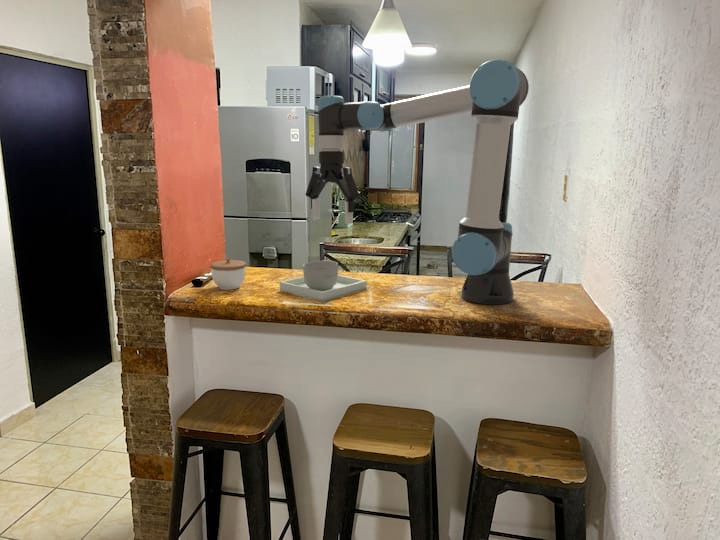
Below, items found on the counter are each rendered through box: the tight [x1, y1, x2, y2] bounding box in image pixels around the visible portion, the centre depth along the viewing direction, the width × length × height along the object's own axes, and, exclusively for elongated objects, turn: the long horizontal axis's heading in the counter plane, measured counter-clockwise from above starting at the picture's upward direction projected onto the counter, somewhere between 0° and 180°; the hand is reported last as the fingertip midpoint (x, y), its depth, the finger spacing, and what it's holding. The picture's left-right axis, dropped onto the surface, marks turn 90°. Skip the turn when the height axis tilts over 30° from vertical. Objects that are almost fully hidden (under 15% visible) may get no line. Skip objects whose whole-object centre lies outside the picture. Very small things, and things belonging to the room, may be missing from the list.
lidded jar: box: [210, 257, 247, 291], centre depth 168 cm, size 11×11×9 cm
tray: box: [279, 274, 368, 303], centre depth 167 cm, size 19×20×3 cm
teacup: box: [302, 259, 339, 291], centre depth 166 cm, size 14×11×8 cm
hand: (332, 221), depth 164 cm, fingers open, 13 cm apart
